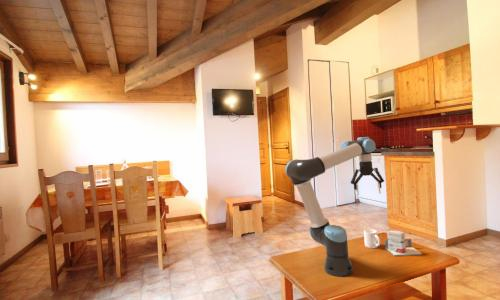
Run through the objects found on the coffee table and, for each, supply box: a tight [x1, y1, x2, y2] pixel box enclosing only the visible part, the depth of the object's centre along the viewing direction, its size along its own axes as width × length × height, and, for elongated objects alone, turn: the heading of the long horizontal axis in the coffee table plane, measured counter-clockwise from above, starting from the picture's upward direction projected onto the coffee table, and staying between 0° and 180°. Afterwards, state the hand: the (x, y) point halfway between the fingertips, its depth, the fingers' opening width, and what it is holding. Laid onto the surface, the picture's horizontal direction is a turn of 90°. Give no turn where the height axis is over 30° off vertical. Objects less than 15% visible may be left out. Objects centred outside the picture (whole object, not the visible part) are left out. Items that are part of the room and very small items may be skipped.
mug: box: [363, 228, 381, 249], centre depth 174 cm, size 12×8×10 cm
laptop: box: [384, 238, 423, 257], centre depth 163 cm, size 16×12×6 cm
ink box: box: [386, 229, 406, 253], centre depth 163 cm, size 8×5×12 cm, turn 39°
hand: (368, 194), depth 168 cm, fingers open, 13 cm apart
